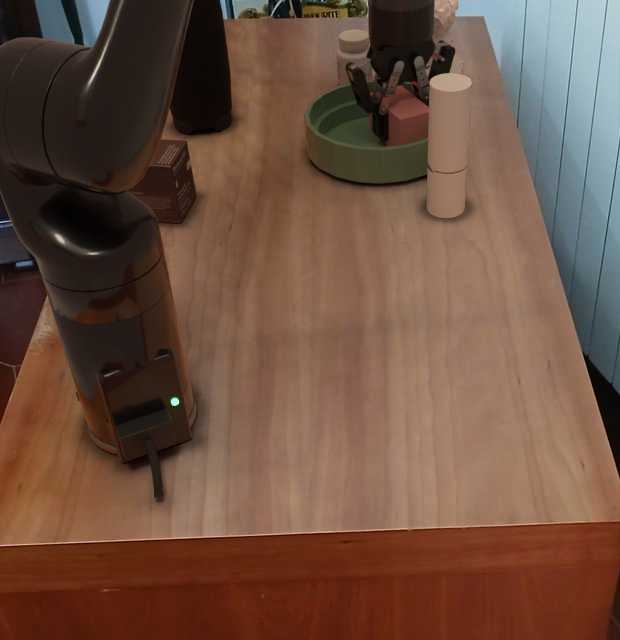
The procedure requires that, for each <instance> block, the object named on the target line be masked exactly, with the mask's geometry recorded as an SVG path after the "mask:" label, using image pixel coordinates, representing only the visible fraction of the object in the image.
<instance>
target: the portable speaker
mask: <svg viewBox="0 0 620 640" xmlns="http://www.w3.org/2000/svg"><path fill="white" fill-rule="evenodd" d="M223 13H224V12H223V7H222V2H221V0H194V3H193V7H192V10H191V15H190V19H189V23H188V27H187V31H186V36H185V40H184V45H183V49H182V54H181V59H180V63H179V68H178V72H177V77H176V81H175V86H174V91H173V95H172V99H171V104H170V108H169V111H170V115H171V116H172V120H173V125H174V128H175V129H176V130H177V131H178V132H179V133H182V134H185V135H190V134H191V133H192V131H193V130H204V129H213V130H214V131H215V132H223V131H225V130H226V129H227V128H228V127H230V126H231V124H232V121H233V115H232V109H233V100H232V78H231V66H230V58H229V51H228V50H229V49H228V43H227V36H226V35H227V34H226V28H225V21H224V14H223Z"/></svg>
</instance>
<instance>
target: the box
mask: <svg viewBox="0 0 620 640" xmlns="http://www.w3.org/2000/svg"><path fill="white" fill-rule="evenodd" d="M188 146H189V143H188V140H185V139H183V140H182V139H166V138H165V139H162V138H161V141H160V144H159V146H158V149H157V152H156V154H155V157H154V159H153V161H152V163H151V165H150V167H149V168H148V170H147V172H146V173H145V175H144V176H143V178H142V179H141V180H140V181H139V182H138V183H137V184H136V185H135V186H134V187H133V188H132V189H130V190H129V191H130V192H131V193H133V194H134V195H136V196H137V197H139V198H140V199H141V200H143V201H144V202H145V203H146V204H147V205H148V206H149V207H150V208H151V209H152V210H153V212H154V214H155V216H156V218H157V220H158V222H166V223H177V224H178V223H181V222H183V220H184V219H185V217H186V216H187V214H188V212H189V210H190V209H191V207H192V205H193V203H194V202H195V200H196V198H197V190H196V186H195V178H194V173H193V167H192V161H191V156H190V150H189V147H188Z"/></svg>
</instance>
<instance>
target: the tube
mask: <svg viewBox="0 0 620 640" xmlns="http://www.w3.org/2000/svg"><path fill="white" fill-rule="evenodd" d="M472 87H473V81H472V79H471V78H470V77H469V76H467V75H465V74H463V75H461V74H456V73H446V74H440V75H437V76H435V77H433V78H432V79H431V80H430V90H429V128H428V169H427V176H426V211H427V213H428V214H429V215H431V216H433V217H436V218H439V219H453V218H456V217H459V216H461V215H462V214H463V213H464V212H465V209H466V194H467V192H466V191H467V175H468V157H469V138H470V123H471V122H470V121H471V105H472V104H471V103H472Z"/></svg>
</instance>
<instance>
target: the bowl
mask: <svg viewBox="0 0 620 640" xmlns="http://www.w3.org/2000/svg"><path fill="white" fill-rule="evenodd" d="M373 80H374V79H373ZM373 80H367V84H368V88H369V91H370V93H373ZM385 84H386V83H385ZM398 86H403V87H404V88H405V89H406V90H408V91H409V92H410V93H411V94H413V90H412V87H411V84H410V82H404V83H402V84H400V85H398ZM413 95H414V94H413ZM414 96H415V95H414ZM303 118H304V132H305V133H304V134H305V146H306V152H307V155H308V159H309V160H311V162H312V163H313V164H314V165H315V166H316V167H317V168H318V169H319V170H321V171H323V172H325V173H327V174H329V175H331V176H333V177H335V178H339V179H343V180H348V181H352V182H356V183H363V184H376V185H377V184H378V185H379V184H393V183H400V182H406V181H409V180H414V179H416V178H420V177H423V176H426V175H427V169H428V138H426V139H424V140H420V141H417V142H413V143H409V144H406V145H399V146H389V147H388V146H387V145H386V144H385V143H384V142H383V141H381V140H380V139H379V138H378V137H377V136H376V135H375V134H374V133H373V132H372V131H370V114H368V113H367V112H365V111H364V110H363V109H362V108H361V107H360V106H359V105H358V104H357V102H356V99H355V96H354V93H353V90H352V87H351V84H350V83H348V84H344V85H340V86H338V85H337V86H335V87H333V88H330V89H328V90H326V91H324V92H322V93H320V94H318V95H317V96H316V97H314V99H312V100H311V101H310V102H309V103H308V105H307V107H306V109H305V111H304V114H303Z"/></svg>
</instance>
